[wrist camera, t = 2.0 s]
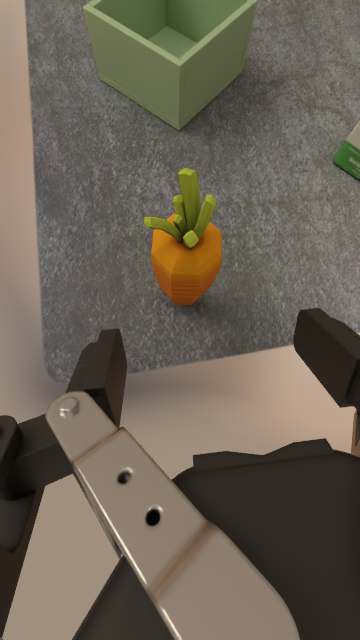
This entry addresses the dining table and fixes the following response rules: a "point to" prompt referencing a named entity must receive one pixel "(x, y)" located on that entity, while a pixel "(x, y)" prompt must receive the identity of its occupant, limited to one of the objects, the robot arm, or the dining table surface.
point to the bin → (170, 50)
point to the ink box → (350, 153)
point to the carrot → (186, 244)
